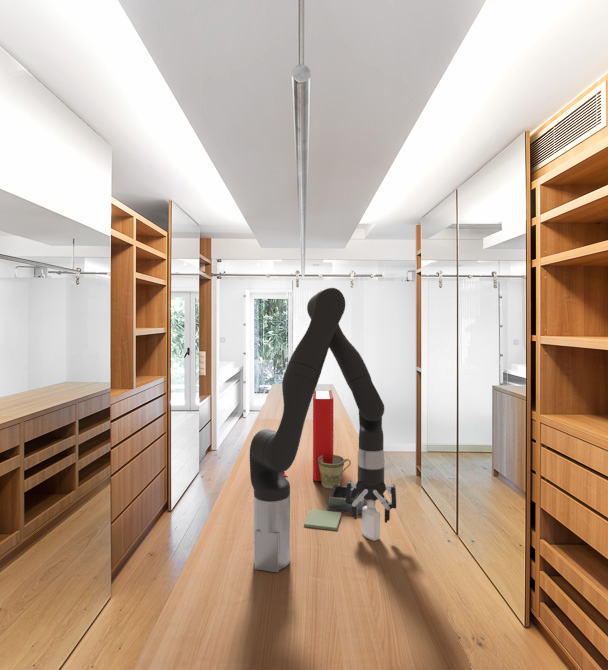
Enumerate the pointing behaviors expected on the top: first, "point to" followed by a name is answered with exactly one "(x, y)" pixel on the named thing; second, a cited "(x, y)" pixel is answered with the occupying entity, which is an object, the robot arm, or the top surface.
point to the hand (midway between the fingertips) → (370, 519)
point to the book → (322, 430)
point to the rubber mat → (323, 519)
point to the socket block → (343, 500)
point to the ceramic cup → (332, 471)
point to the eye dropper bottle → (371, 521)
